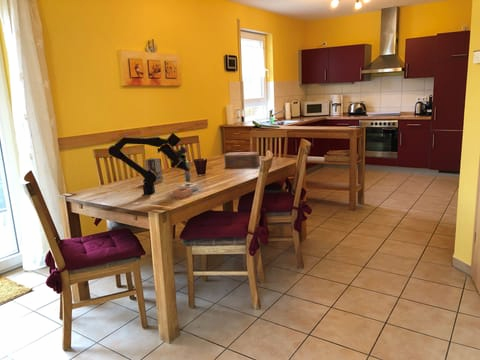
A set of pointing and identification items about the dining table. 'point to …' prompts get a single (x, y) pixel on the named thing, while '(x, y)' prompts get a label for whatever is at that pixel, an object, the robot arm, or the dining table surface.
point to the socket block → (190, 186)
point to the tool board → (187, 196)
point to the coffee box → (155, 168)
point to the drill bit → (187, 172)
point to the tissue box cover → (242, 159)
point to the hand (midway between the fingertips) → (189, 170)
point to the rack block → (182, 192)
